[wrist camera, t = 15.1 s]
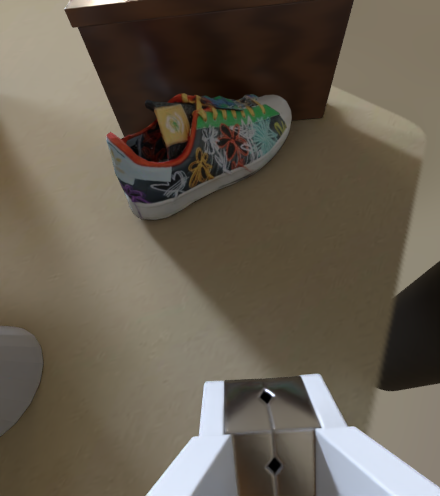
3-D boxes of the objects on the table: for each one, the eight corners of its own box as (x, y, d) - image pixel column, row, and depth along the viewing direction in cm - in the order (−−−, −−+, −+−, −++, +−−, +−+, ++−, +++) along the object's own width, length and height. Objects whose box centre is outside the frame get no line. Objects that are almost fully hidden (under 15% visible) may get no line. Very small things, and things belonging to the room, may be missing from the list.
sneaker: (307, 141, 33) (328, 48, 24) (157, 241, 27) (118, 164, 18) (263, 115, 36) (268, 25, 28) (121, 199, 30) (74, 117, 22)
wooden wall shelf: (317, 96, 38) (349, -42, 26) (326, 117, 35) (366, -27, 24) (125, 116, 38) (75, -10, 27) (120, 138, 36) (63, 9, 25)
